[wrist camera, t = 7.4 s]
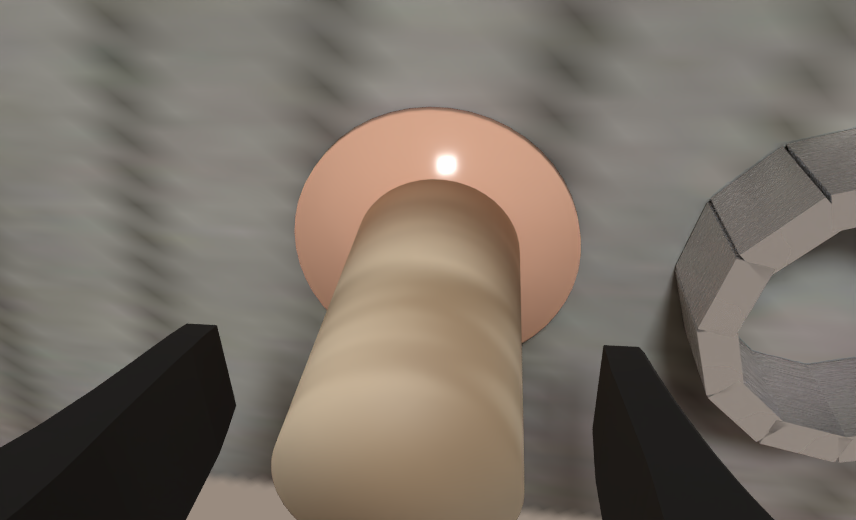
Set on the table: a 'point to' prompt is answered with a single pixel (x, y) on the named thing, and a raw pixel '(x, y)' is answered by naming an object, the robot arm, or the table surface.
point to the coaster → (454, 161)
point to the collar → (745, 280)
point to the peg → (414, 370)
